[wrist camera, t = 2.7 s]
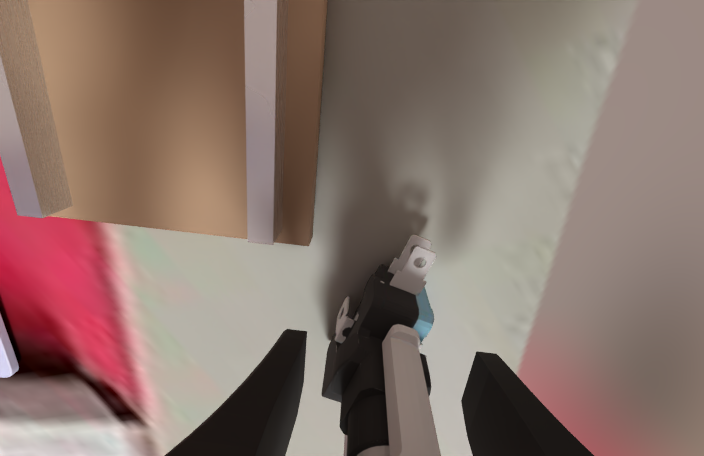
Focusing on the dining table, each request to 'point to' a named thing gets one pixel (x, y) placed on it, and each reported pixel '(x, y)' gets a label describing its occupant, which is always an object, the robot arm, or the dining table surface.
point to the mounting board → (174, 111)
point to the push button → (386, 362)
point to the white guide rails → (43, 145)
